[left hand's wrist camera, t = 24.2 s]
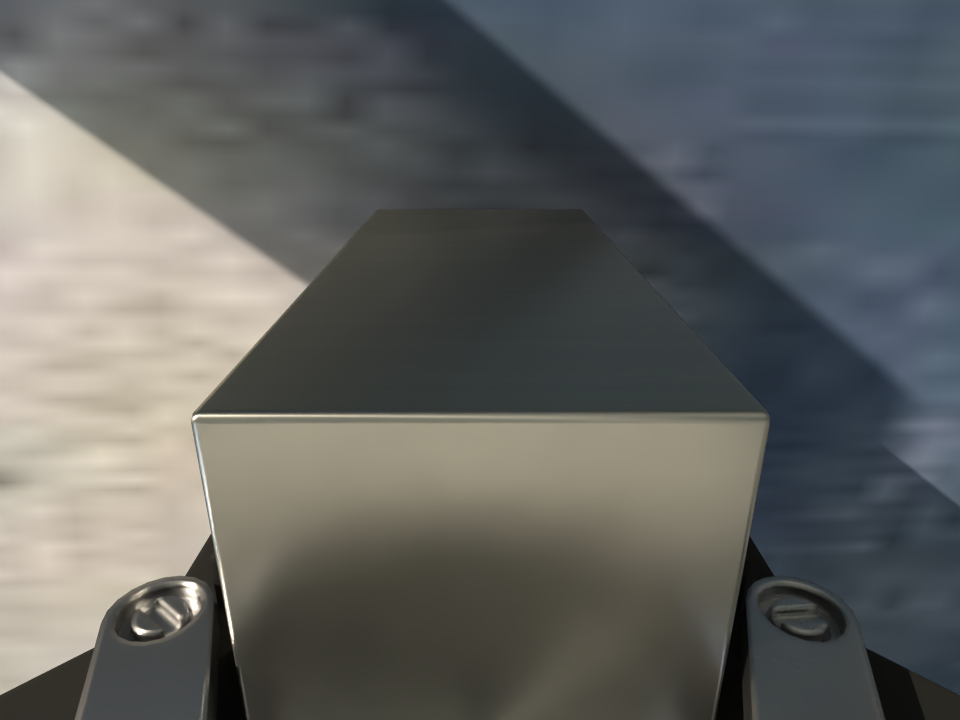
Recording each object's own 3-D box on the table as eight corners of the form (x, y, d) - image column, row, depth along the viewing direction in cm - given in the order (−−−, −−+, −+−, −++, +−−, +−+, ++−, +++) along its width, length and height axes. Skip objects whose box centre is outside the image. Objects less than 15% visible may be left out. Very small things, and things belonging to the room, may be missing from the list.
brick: (391, 483, 20) (285, 954, 9) (376, 208, 17) (184, 415, 6) (567, 483, 20) (675, 954, 9) (583, 208, 17) (776, 415, 6)
